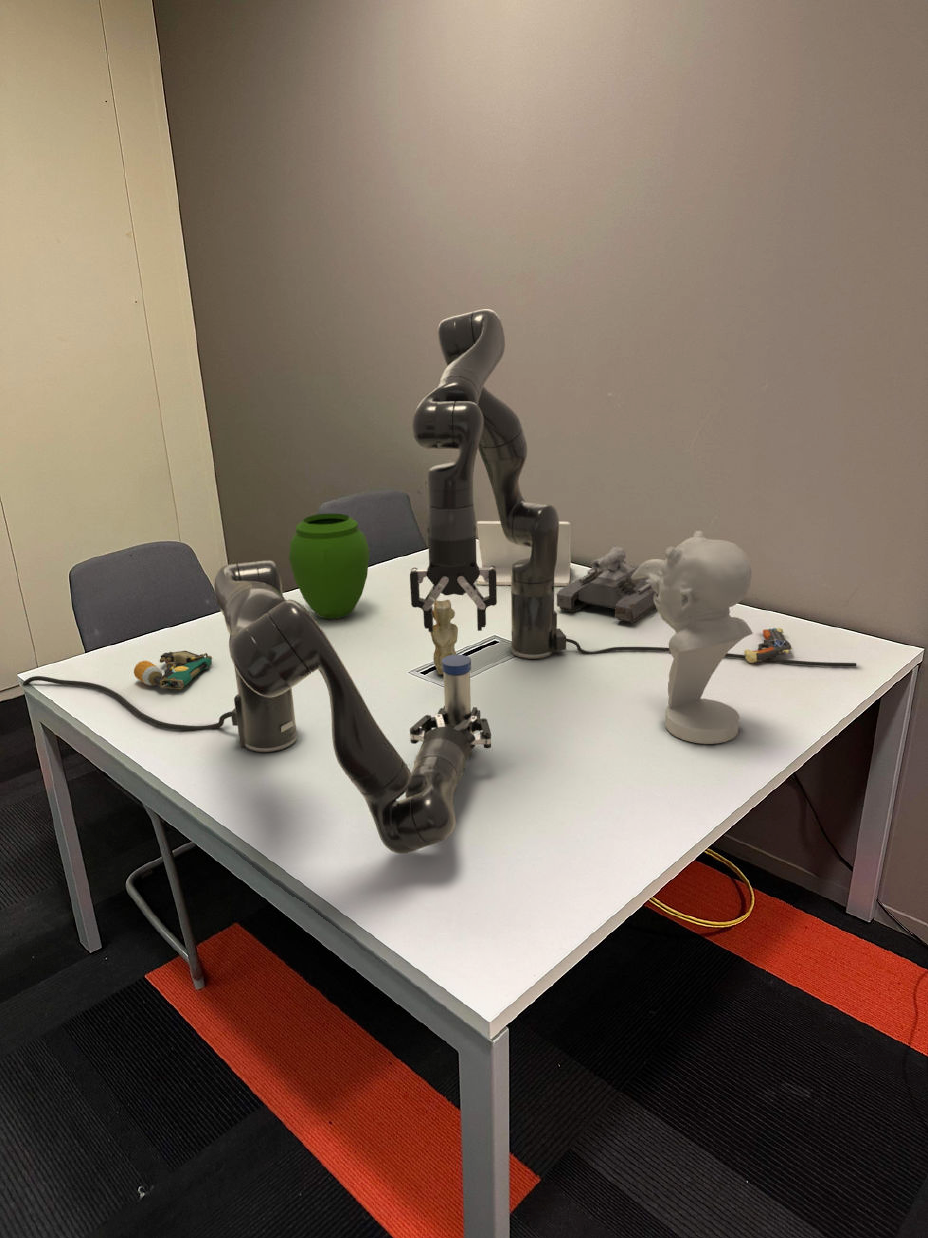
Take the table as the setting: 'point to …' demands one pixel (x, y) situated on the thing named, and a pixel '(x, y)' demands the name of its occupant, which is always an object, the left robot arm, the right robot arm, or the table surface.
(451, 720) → the jar
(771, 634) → the toy gun
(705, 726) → the bust sculpture
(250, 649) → the left robot arm
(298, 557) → the vase
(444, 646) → the sculpture
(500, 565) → the tablet stand
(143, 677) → the spray gun
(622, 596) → the toy
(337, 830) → the table surface
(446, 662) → the lid
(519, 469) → the right robot arm
